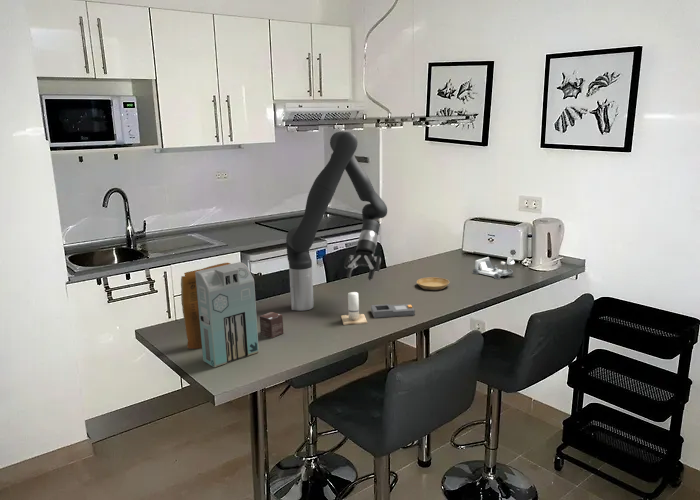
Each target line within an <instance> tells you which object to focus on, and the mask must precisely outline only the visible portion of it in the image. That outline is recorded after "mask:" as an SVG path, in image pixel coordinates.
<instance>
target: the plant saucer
mask: <svg viewBox="0 0 700 500" xmlns="http://www.w3.org/2000/svg"><path fill="white" fill-rule="evenodd" d="M416 283H417V285H418V286H419V287H420V288H422V289H423V290H428V291H438V290H439V291H440V290H443V289H445V288H446V287H447V286H448V285H449V284H450V280H449V279H446V278H444V277H436V276H435V277H434V276H431V277H422V278H419V279H417V280H416Z"/></svg>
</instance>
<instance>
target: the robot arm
mask: <svg viewBox="0 0 700 500" xmlns="http://www.w3.org/2000/svg"><path fill="white" fill-rule="evenodd" d="M329 145H330V149H331V151H332V154H331V156H330V158H329V160H328V162H327V164H326V165H325V167H324V168H323V169H322V170H321V171H320V173H319V174H318V175H317V176H316V177H315V179H314V181H313V183H312V185H311V188H309V189H310V190H309V192H308V195H307V198H306V203H305V208H304V212H303V213H304V214H303V217H302V219H301V221H300V222H299V225H298V226H294V227H292V228H291V229H289V231H288V232H287V234H286V239H285V240H286V241H285V243H286V256H287V257H286V258H287V261H288V267H289V268H288V270H289V271H288V272H289V289H290V291H289V292H290V305H291V306H290V307H291V309H290V310H291V311H299V312H300V311H301V312H302V311H308V310H309V311H310V310H311V309H314V302H315V301H314V284H313V282H314V280H313V262H312V258H311V254H310V249H311V247H312V246H313V244H314V241H315V239H316V235H317V231H318V229H319V227H320V224H321V221H322V220H323V218H324V215H325V214H326V212H327V210H328V208H329V205H330V204H331V201H332V200H333V197H334V195H335V192H336V190H337V187H338V185H339V184H340V181H341V178H342V176H343V174H344V172H345V171H346V174H347V175H348V178H349V179H350V181H351V183H352V185H353V187H354V190H355V192H356V194H357V196H358V198H359V200H360V201H362V202H368V203H366V204H365V205H364V206H363V207H362V209H361V216H362V227H361V231H360V234H359V237H358V241H357V244H356V249H355V253H354V254H351V253H347V254H346V257H345V259H344V262H343V266H344V269H345V270H347V271H346V277H347V279H348V280H349V279H351V277H352V273H353V270H354V269H357V267H368V268H369V272H368V277H367V279H368V281H371V280H373V279H374V274H375V272H380V270H381V263H382V258H381V255H379V254H378V255H377V256H375V253H376V249H377V245H378V237H379V232H380V223H379V222H378V221H377V220H378V219H384V218H385V217H387V215H388V207H387V204H386V202H385V201H384V200H383V199H382V198H381V196H380V195H379V194H378V193H377V192H376V191H375V188H374V186H373V184H372V182H371V180H370V178H369V176H368V175H367V173H366V171H365V170H364V169H363V168H362V166H361V164H360V163H359V162H358V160H357V158H356V156H355V153H356V151H357V149H358V148H357V147H358V139H357V136H356V135H355V134H354V133H353V132H350V131H337V132H334V133H333V134H332V135H331V136H330V139H329ZM374 261H375V266H374V265H373V264H372V262H374Z"/></svg>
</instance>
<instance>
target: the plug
mask: <svg viewBox="0 0 700 500" xmlns="http://www.w3.org/2000/svg"><path fill="white" fill-rule="evenodd" d="M347 302H348V303H347V304H348V305H347V307H348V308H347V309H348V315H349V320H358V319H359V314H360V299H359V292H357V291H351V292H348V293H347Z"/></svg>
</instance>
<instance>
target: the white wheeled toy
mask: <svg viewBox="0 0 700 500" xmlns="http://www.w3.org/2000/svg"><path fill="white" fill-rule="evenodd" d="M474 262H475V265H474V269H472V274H474V275H478V274H481V275H485V276H490V277H493V278H494V279H495V280H500V278H501V277H503V276H504V277H505V276H508V275H510V276H512V275H514V271H513V270H512V269H511V268H509V265H510V266H511V265H514V264H515V260H514V258H512V257H507V260H506V262H505V261H500V265H502V268H505V267H504V266H505V265H507V266H506V269H500V268H499V267H498V265H497V264H494V265H492V262H491V260H490V257H489V256H487V257H483V258H479V259H475V261H474Z"/></svg>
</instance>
